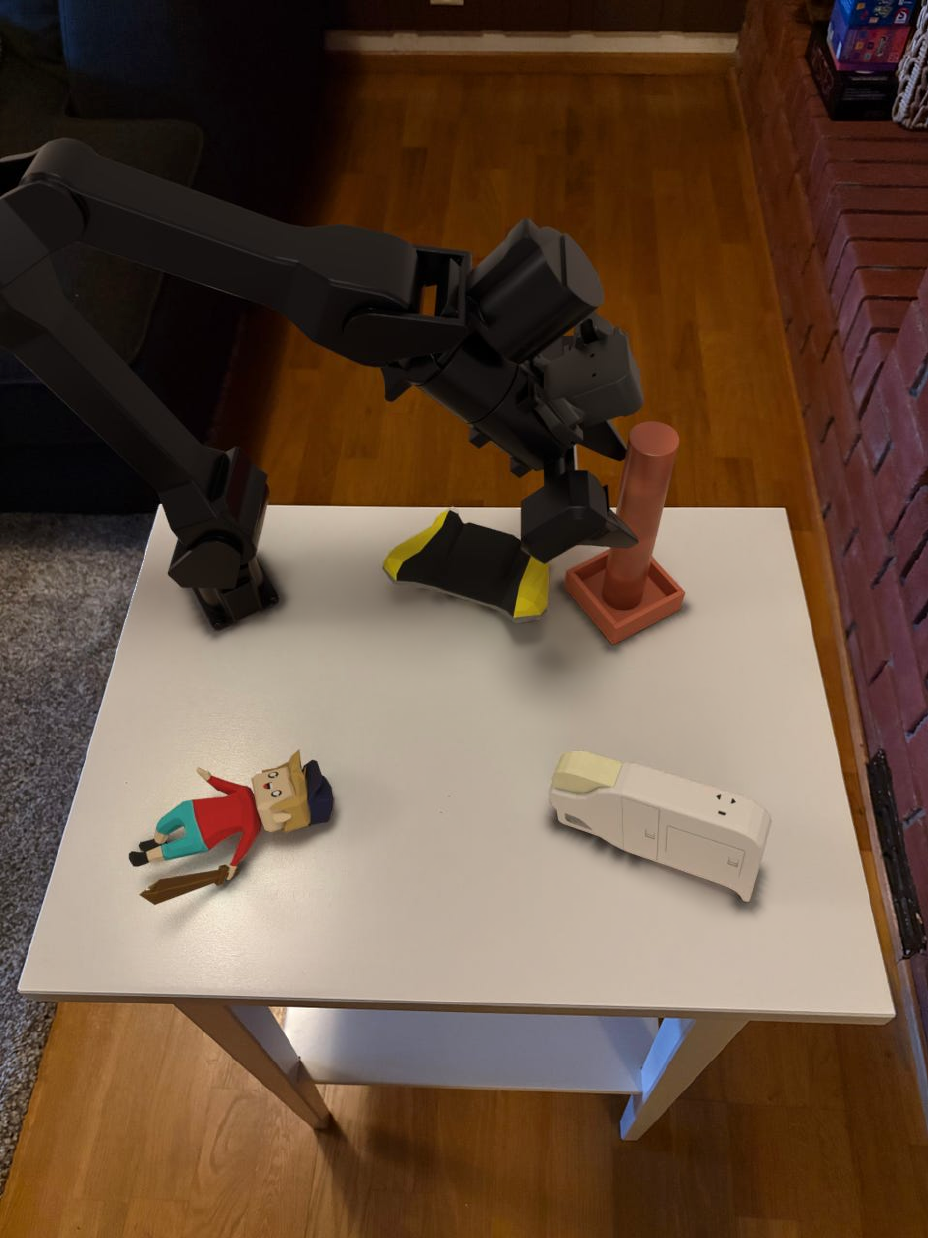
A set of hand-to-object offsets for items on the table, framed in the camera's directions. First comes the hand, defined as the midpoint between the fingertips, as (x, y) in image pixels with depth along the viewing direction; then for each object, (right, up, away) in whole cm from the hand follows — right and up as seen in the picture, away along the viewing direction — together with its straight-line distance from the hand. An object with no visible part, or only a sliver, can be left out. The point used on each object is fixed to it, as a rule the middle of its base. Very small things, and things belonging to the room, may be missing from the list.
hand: (629, 498), depth 68 cm
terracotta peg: (+1, -7, +10) cm, 13 cm away
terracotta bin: (+1, -7, +11) cm, 13 cm away
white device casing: (+1, -27, -2) cm, 27 cm away
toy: (-30, -26, -1) cm, 40 cm away
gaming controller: (-12, -6, +12) cm, 18 cm away
